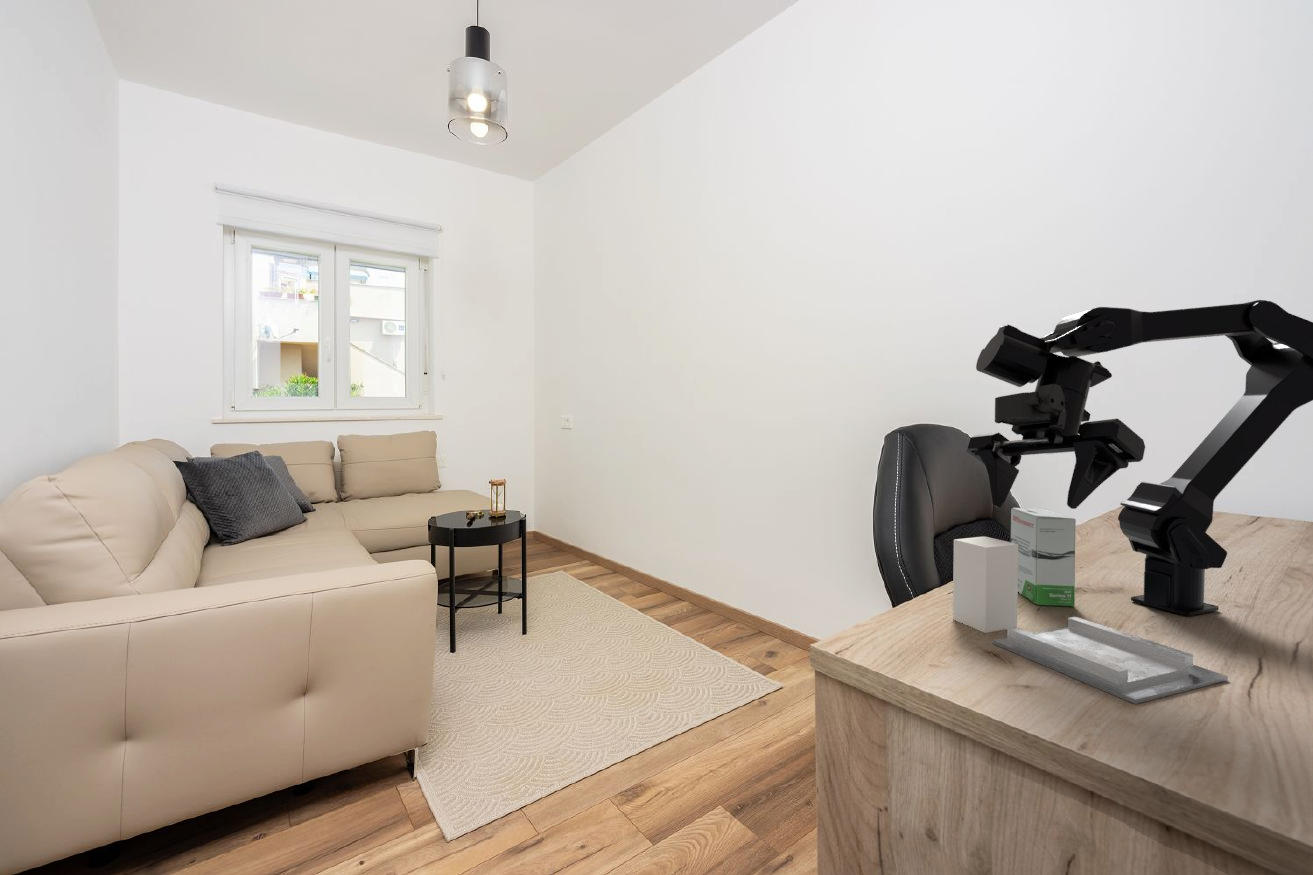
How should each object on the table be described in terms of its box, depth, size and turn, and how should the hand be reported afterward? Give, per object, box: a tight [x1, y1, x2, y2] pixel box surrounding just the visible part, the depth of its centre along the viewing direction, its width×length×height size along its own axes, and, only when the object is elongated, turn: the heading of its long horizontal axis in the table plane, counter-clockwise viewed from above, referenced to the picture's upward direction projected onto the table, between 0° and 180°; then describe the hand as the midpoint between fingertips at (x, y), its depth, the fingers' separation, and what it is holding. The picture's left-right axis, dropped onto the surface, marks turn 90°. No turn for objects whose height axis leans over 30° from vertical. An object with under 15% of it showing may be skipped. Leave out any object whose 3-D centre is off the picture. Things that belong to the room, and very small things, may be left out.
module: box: [952, 536, 1019, 634], centre depth 69 cm, size 5×5×10 cm
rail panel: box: [992, 616, 1229, 705], centre depth 58 cm, size 13×14×2 cm
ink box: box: [1010, 507, 1077, 607], centre depth 78 cm, size 9×5×12 cm, turn 168°
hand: (1031, 506), depth 70 cm, fingers open, 9 cm apart
